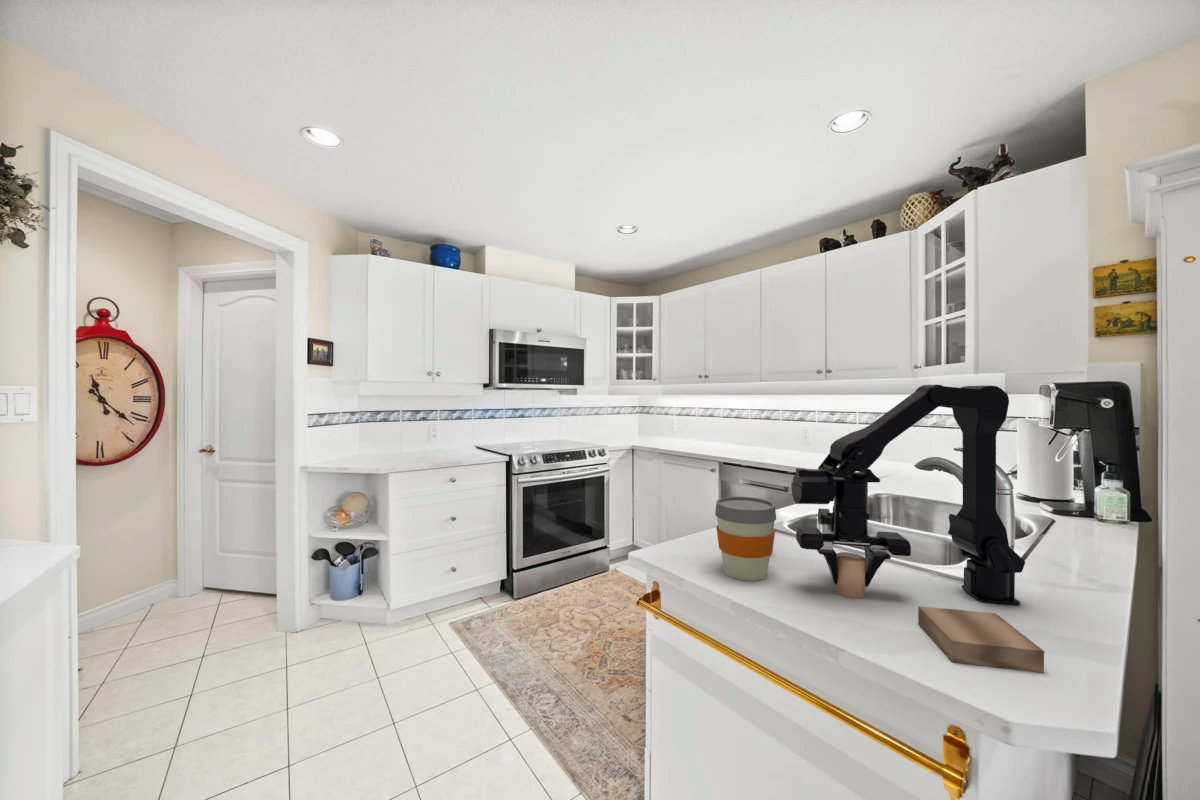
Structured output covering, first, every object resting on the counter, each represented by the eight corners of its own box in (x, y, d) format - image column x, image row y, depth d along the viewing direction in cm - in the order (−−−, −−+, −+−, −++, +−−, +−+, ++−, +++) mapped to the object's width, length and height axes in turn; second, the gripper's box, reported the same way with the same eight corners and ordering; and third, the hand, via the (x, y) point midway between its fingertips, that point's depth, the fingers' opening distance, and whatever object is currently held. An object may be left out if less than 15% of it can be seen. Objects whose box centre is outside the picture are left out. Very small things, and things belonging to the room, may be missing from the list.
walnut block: (995, 631, 74) (995, 613, 74) (1043, 672, 63) (1044, 651, 63) (918, 623, 76) (918, 606, 76) (951, 661, 66) (952, 641, 66)
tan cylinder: (860, 588, 90) (860, 553, 90) (869, 599, 85) (869, 562, 85) (832, 586, 91) (832, 551, 91) (839, 597, 86) (839, 560, 86)
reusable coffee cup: (771, 563, 103) (771, 497, 103) (780, 587, 91) (780, 512, 91) (714, 559, 106) (714, 495, 106) (715, 581, 94) (715, 508, 94)
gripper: (889, 497, 94) (888, 572, 94) (791, 493, 98) (791, 565, 98) (912, 511, 83) (911, 596, 83) (801, 505, 87) (801, 586, 88)
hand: (850, 584), depth 88 cm, fingers closed on tan cylinder, 5 cm apart
